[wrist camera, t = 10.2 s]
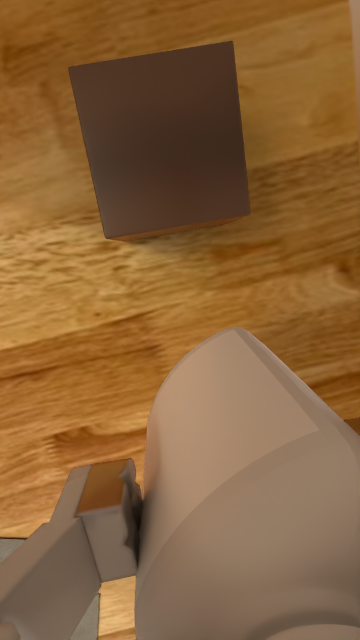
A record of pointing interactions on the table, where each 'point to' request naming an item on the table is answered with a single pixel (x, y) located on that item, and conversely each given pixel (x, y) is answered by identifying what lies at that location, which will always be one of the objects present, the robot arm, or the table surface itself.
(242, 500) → the eye dropper bottle
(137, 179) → the walnut block
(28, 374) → the table surface
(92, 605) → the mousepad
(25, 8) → the table surface
